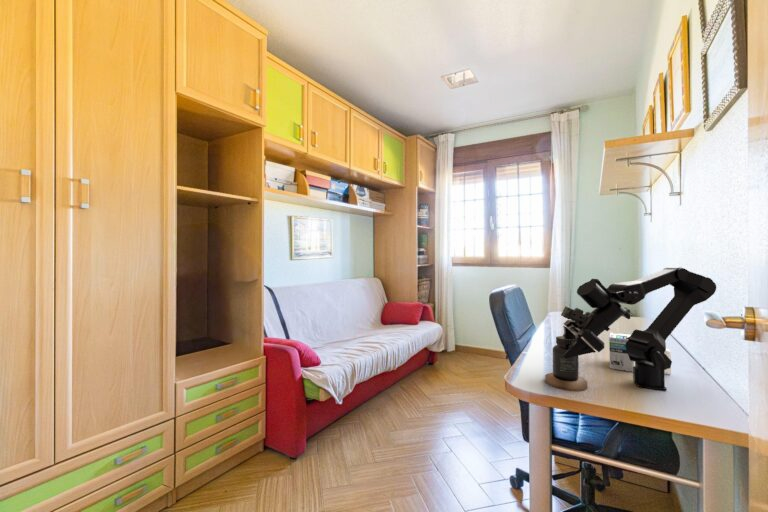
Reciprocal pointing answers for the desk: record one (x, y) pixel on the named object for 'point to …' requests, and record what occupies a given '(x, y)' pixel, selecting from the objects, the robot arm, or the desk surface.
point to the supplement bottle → (564, 360)
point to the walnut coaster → (566, 383)
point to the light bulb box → (619, 352)
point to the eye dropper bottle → (670, 359)
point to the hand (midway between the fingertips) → (560, 352)
